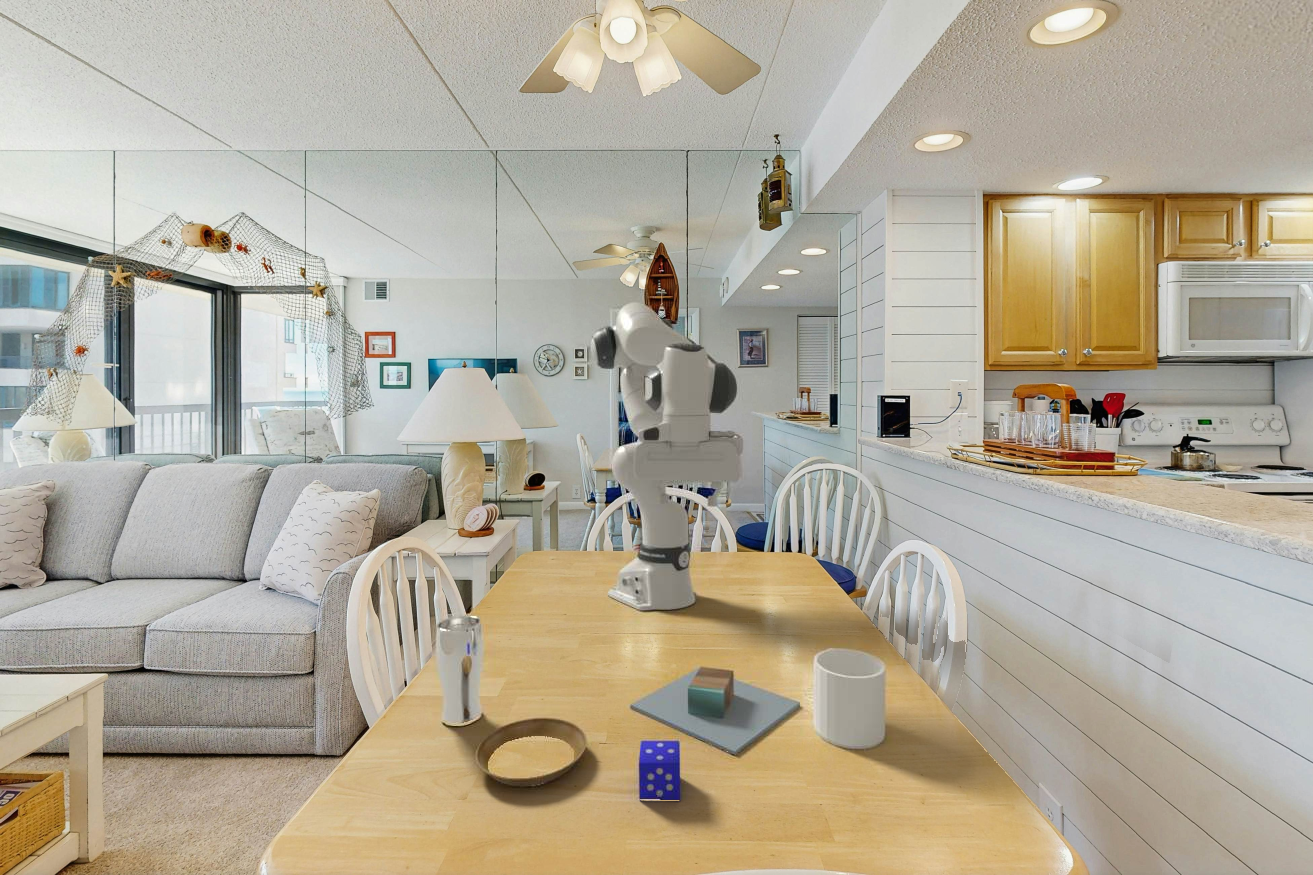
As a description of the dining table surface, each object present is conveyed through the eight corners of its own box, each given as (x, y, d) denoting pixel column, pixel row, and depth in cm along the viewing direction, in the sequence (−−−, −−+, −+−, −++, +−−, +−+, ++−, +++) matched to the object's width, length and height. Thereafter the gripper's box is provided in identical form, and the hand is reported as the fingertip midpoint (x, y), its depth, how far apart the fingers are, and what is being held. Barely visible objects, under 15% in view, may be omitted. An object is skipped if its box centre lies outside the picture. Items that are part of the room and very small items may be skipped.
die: (641, 777, 80) (640, 739, 80) (679, 777, 80) (679, 739, 79) (639, 802, 75) (638, 762, 75) (680, 802, 75) (679, 762, 74)
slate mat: (630, 708, 98) (630, 704, 98) (700, 670, 111) (700, 666, 111) (734, 755, 84) (734, 751, 84) (799, 705, 98) (799, 702, 98)
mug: (898, 747, 86) (898, 675, 85) (829, 752, 85) (829, 680, 84) (858, 703, 98) (858, 640, 98) (797, 707, 97) (797, 644, 97)
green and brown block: (700, 666, 102) (687, 687, 94) (733, 670, 100) (722, 692, 93) (701, 689, 102) (688, 713, 95) (733, 694, 100) (723, 718, 93)
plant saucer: (484, 811, 74) (484, 790, 74) (469, 748, 87) (468, 730, 87) (601, 779, 80) (601, 760, 80) (570, 725, 93) (570, 708, 93)
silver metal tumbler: (494, 709, 98) (491, 617, 97) (467, 732, 91) (464, 633, 90) (457, 703, 100) (454, 612, 99) (428, 724, 93) (424, 628, 93)
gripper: (745, 430, 114) (745, 504, 115) (640, 430, 120) (641, 500, 121) (739, 432, 108) (740, 510, 109) (629, 431, 114) (631, 506, 115)
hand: (687, 505), depth 115 cm, fingers open, 8 cm apart
